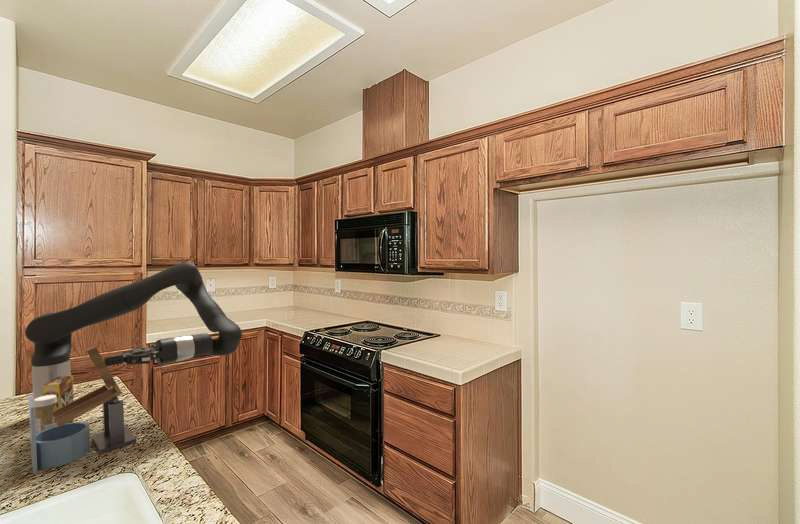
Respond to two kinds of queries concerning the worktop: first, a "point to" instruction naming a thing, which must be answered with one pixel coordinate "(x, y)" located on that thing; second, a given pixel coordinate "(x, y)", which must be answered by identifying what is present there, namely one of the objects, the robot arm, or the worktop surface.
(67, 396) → the candy box
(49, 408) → the sprinkles bottle
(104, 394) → the lever
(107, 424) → the lever stand
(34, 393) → the robot arm
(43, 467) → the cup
